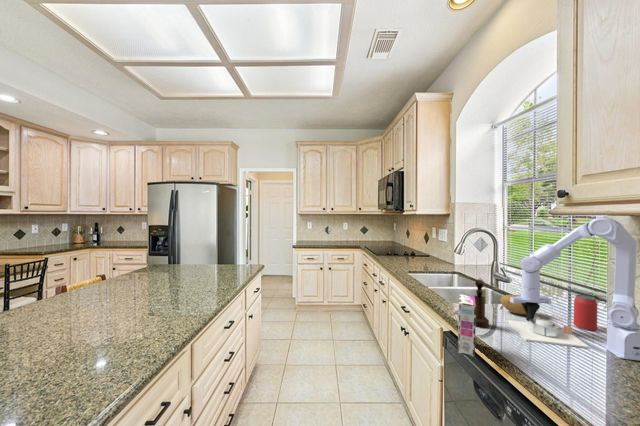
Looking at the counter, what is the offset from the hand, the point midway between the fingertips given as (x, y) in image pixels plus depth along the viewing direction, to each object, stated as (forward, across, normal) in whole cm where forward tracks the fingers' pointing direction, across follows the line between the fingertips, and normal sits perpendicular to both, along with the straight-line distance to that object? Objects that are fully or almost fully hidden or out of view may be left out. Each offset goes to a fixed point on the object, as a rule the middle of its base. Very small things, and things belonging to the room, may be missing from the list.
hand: (529, 321), depth 108 cm
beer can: (+2, -21, 0) cm, 21 cm away
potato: (+2, -5, -13) cm, 14 cm away
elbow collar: (+1, -1, +4) cm, 4 cm away
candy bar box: (+3, +34, +17) cm, 38 cm away
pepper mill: (+2, +19, -2) cm, 19 cm away
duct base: (+2, -1, +6) cm, 7 cm away
